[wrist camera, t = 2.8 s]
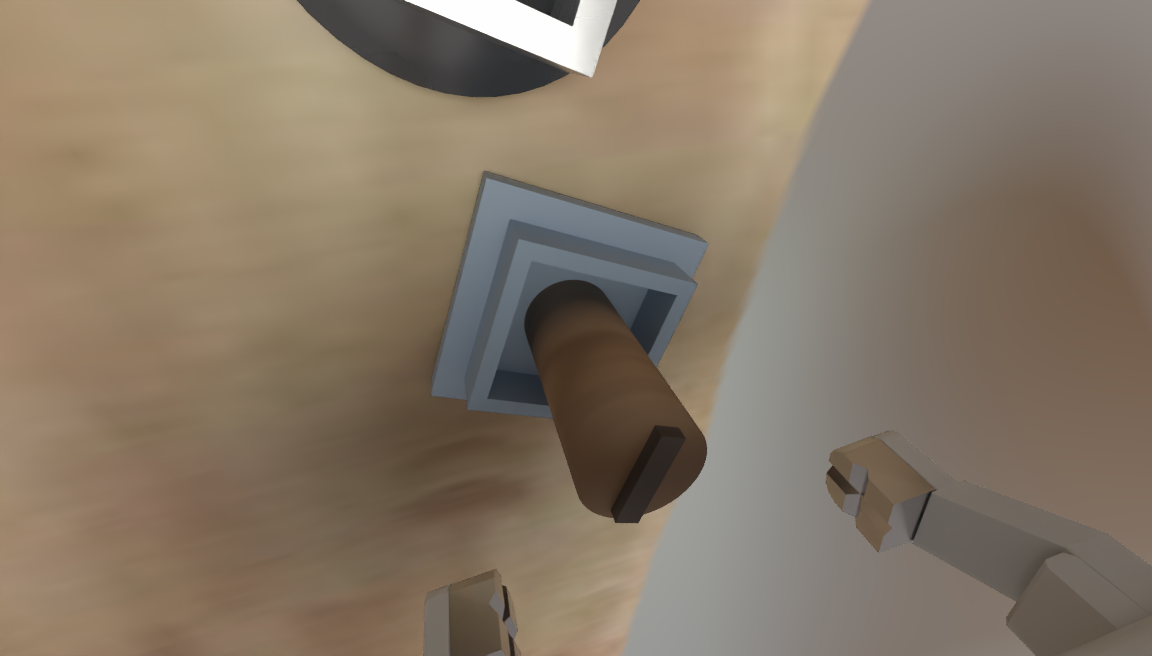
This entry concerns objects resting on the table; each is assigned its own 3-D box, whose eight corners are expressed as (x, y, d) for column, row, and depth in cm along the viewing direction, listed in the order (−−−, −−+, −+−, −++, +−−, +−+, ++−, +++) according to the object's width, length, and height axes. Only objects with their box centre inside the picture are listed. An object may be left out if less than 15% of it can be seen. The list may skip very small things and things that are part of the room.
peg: (593, 363, 20) (678, 530, 13) (513, 351, 19) (560, 530, 12) (624, 290, 19) (738, 434, 12) (539, 270, 17) (612, 420, 10)
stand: (617, 404, 23) (639, 447, 21) (430, 381, 20) (430, 429, 17) (697, 235, 19) (735, 263, 17) (483, 171, 16) (493, 194, 14)
